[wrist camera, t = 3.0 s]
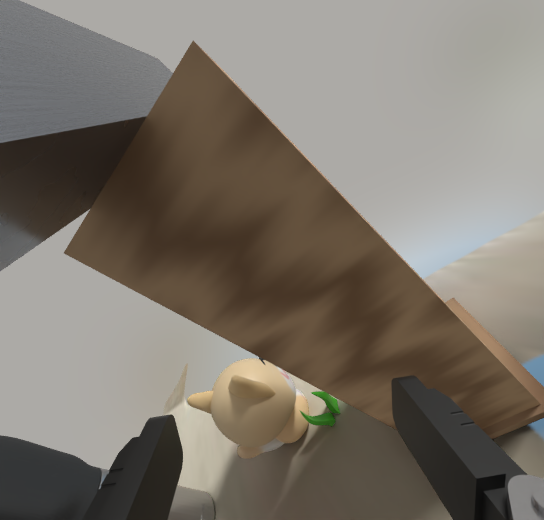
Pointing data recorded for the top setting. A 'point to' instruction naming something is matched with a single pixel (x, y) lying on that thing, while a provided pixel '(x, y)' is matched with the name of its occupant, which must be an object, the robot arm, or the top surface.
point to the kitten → (260, 407)
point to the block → (62, 119)
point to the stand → (284, 260)
